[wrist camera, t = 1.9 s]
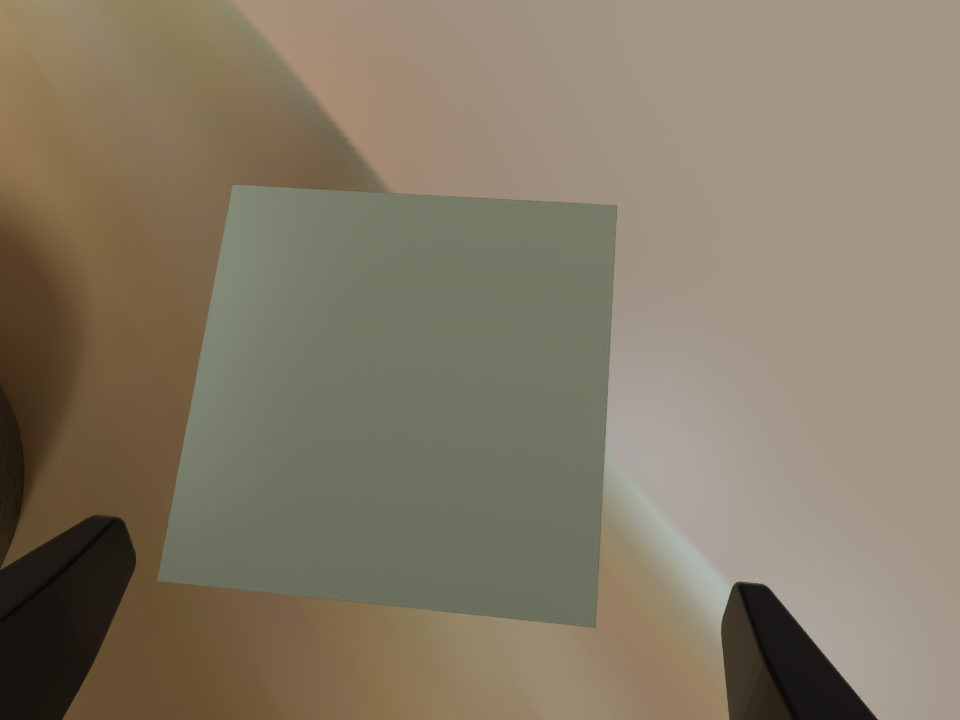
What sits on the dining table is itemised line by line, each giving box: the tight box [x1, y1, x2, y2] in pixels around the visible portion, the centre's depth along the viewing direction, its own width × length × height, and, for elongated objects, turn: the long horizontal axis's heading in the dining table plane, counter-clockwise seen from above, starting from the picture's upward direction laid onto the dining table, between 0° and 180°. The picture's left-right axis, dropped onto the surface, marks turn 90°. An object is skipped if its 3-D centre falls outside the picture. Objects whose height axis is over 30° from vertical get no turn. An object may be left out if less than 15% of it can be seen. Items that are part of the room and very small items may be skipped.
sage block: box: [157, 185, 617, 628], centre depth 14 cm, size 5×5×12 cm
